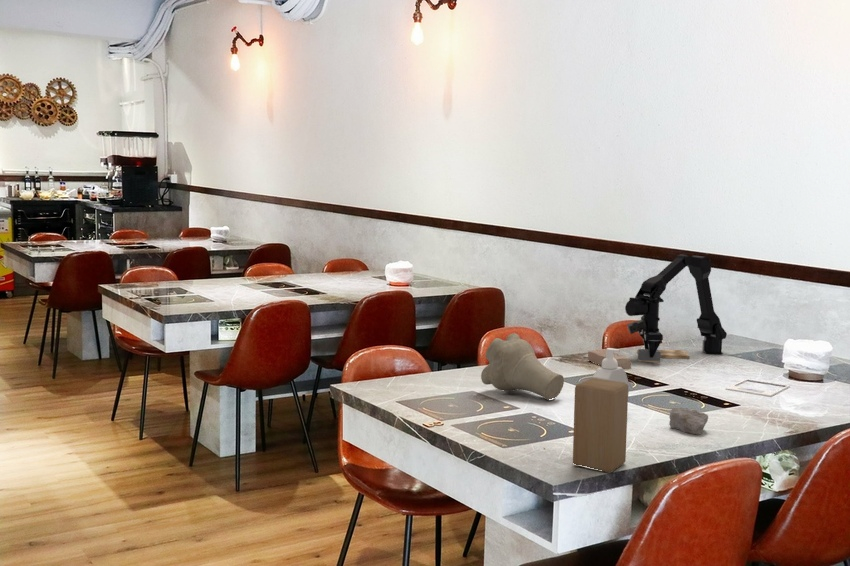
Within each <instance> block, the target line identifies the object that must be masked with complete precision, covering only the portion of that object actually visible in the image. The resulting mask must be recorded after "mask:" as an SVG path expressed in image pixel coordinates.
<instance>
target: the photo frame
mask: <svg viewBox="0 0 850 566" xmlns="http://www.w3.org/2000/svg"><path fill="white" fill-rule="evenodd" d="M746 382H754V383H760V384H767V385H773V386H779V387H780V386H781V389H777V391H776V390H775V391H769V390H763V389H756V388H749V387H744V386H739V385H742V384H744V383H746ZM789 388H791V386H790V385H788V384H782V383H776V382H775V383H773V382H768V381H761V380H755V379H747V378H745V379H743V380H741V381H739V382H736V383H734V384H732V385H729V386H727V387H725V388H724V389H725V391H732V392H738V393H745V394H749V395H755V396H762V397H767V398H772V397H774V396H776V395H778V394H780V393H782V392H783V391H785V390H788V389H789Z"/></svg>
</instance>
